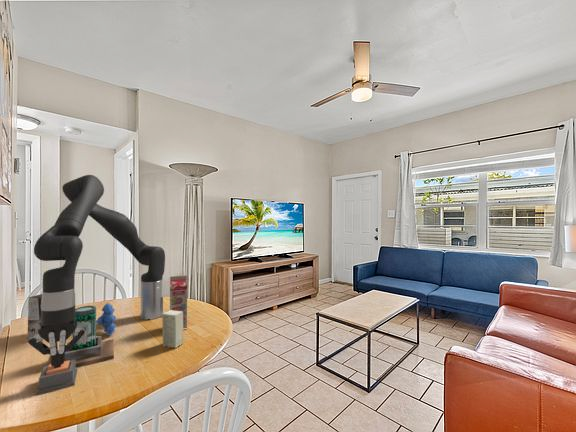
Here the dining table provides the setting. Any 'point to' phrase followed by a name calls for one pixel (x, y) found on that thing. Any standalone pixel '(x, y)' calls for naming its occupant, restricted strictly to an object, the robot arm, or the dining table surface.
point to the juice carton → (179, 296)
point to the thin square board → (92, 353)
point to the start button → (58, 368)
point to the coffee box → (34, 315)
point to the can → (86, 327)
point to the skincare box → (172, 328)
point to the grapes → (107, 319)
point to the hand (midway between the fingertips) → (57, 366)
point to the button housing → (57, 379)
